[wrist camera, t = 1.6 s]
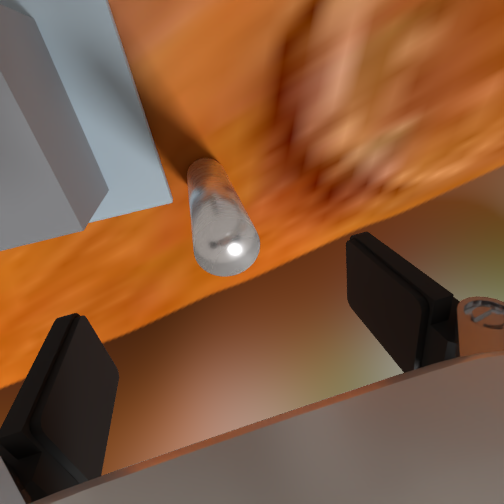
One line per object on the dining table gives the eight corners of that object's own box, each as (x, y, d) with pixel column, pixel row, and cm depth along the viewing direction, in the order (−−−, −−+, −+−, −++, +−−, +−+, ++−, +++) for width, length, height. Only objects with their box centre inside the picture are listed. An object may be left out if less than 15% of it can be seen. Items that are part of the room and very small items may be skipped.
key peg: (220, 153, 23) (253, 209, 13) (228, 190, 25) (264, 266, 15) (182, 162, 23) (185, 227, 13) (193, 199, 25) (203, 283, 14)
